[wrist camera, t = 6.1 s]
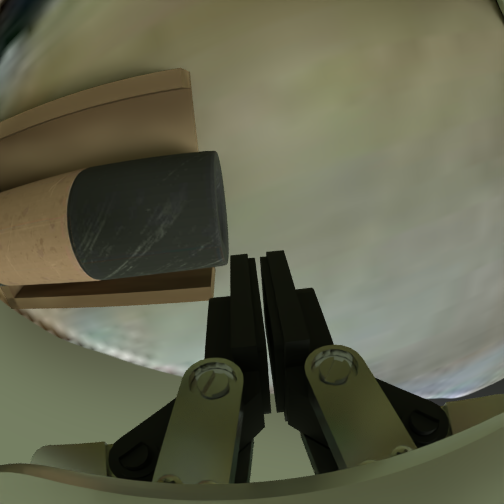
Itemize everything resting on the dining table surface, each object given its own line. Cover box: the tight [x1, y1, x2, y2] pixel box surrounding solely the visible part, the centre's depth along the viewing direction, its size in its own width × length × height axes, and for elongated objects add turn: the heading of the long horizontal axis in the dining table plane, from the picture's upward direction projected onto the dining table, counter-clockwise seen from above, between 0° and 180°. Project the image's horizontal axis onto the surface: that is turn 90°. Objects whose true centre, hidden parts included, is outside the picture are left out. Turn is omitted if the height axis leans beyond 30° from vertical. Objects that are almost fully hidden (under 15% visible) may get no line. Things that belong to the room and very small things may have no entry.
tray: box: [0, 68, 215, 309], centre depth 21 cm, size 16×20×4 cm
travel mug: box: [0, 151, 229, 286], centre depth 19 cm, size 8×8×20 cm
